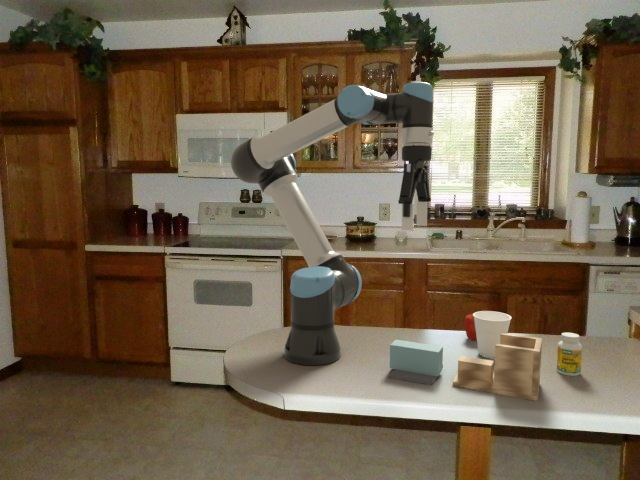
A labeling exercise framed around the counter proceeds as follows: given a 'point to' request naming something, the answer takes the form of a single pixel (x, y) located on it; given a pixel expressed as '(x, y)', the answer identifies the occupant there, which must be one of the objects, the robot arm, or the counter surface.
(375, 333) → the counter surface
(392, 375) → the mat
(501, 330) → the cup
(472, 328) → the apple
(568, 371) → the supplement bottle
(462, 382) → the cradle
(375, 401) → the counter surface
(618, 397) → the counter surface
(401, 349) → the bar
